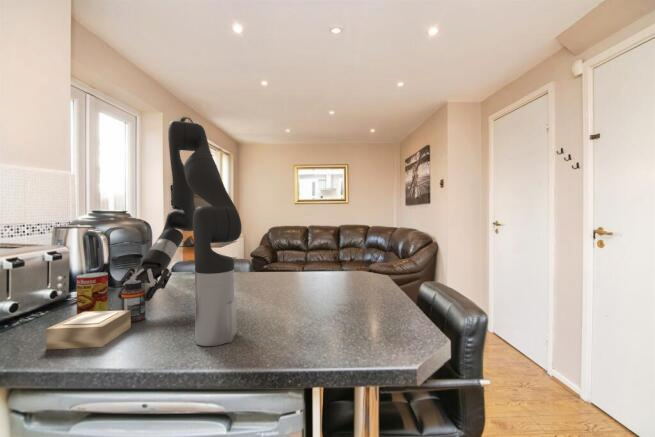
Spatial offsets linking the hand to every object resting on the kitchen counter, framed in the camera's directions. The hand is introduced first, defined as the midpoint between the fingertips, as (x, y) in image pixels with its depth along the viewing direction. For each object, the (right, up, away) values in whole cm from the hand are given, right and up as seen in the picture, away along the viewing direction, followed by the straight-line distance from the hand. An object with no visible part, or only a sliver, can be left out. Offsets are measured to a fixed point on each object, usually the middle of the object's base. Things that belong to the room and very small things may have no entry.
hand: (133, 299), depth 87 cm
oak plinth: (-2, -6, -13) cm, 14 cm away
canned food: (-18, -6, +7) cm, 20 cm away
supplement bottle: (0, -6, 0) cm, 6 cm away
